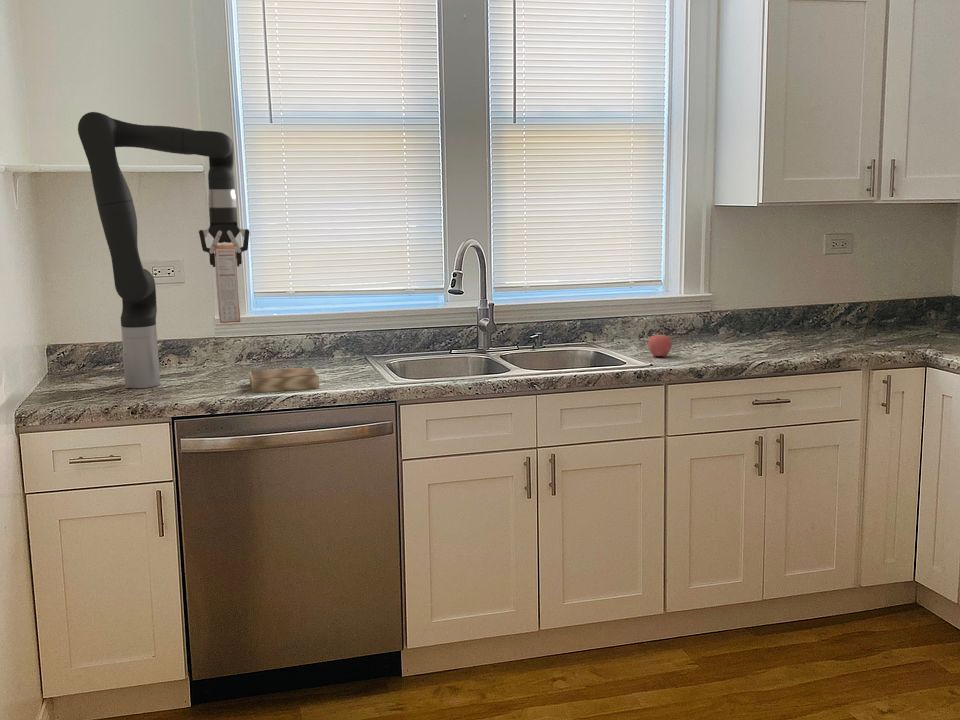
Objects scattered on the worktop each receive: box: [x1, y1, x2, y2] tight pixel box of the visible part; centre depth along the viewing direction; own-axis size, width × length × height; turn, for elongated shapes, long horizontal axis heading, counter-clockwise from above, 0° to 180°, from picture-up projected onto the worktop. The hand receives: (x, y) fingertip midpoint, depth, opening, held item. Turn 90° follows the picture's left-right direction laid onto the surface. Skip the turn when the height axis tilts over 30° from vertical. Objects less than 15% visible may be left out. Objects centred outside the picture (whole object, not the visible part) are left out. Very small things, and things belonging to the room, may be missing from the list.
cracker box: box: [214, 244, 241, 324], centre depth 261 cm, size 14×6×21 cm, turn 16°
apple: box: [647, 332, 673, 357], centre depth 298 cm, size 7×7×8 cm
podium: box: [249, 366, 320, 394], centre depth 259 cm, size 18×13×4 cm
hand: (226, 266), depth 260 cm, fingers closed on cracker box, 6 cm apart
